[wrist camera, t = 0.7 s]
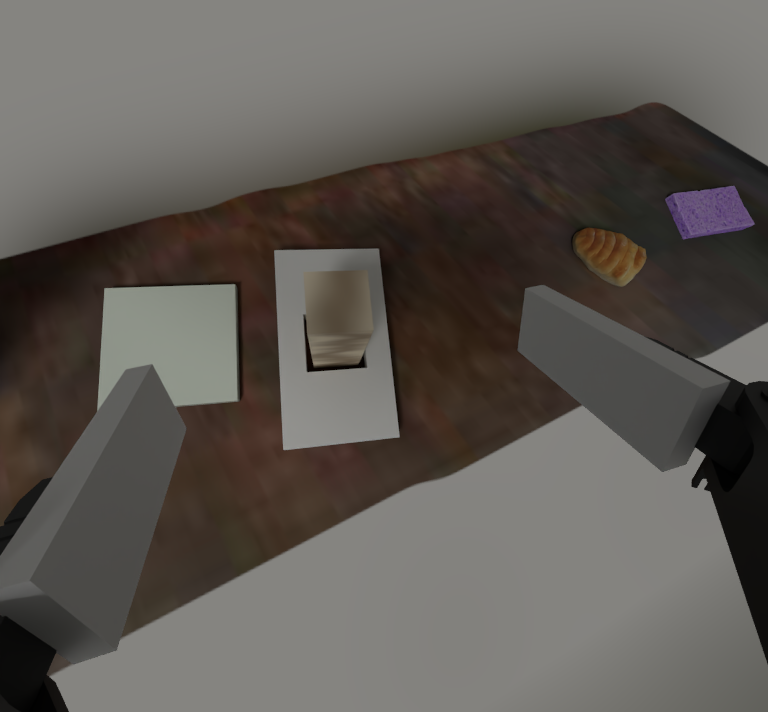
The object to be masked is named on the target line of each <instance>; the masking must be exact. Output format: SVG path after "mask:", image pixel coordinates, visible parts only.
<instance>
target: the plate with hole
mask: <svg viewBox="0 0 768 712" xmlns="http://www.w3.org/2000/svg"><path fill="white" fill-rule="evenodd" d="M274 255H275V277H276V299H277V321H278V343H279V365H280V387H281V409H282V431H283V450H289V449H298V448H307V447H316V446H325V445H334V444H343V443H352V442H361V441H370V440H379V439H387V438H396V437H400V436H399V427H398V418H397V409H396V400H395V391H394V382H393V373H392V364H391V355H390V346H389V337H388V328H387V319H386V309H385V300H384V291H383V282H382V273H381V264H380V255H379V249H323V250H274ZM353 270H368V279H369V289H370V299H371V309H372V318H373V328H374V331H373V333H372V335H371V338H370V340H369V342H368V344H367V346H366V349H365V351H364V363H365V368H357V369H344V370H330V371H317V372H307V356H306V340H305V324H304V320H306V306H305V290H304V274H303V272H315V271H353Z"/></svg>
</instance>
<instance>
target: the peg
mask: <svg viewBox="0 0 768 712" xmlns="http://www.w3.org/2000/svg"><path fill="white" fill-rule="evenodd" d="M303 274H304V290H305V306H306V322H307V335H308V340H309V345H310V350H311V355H312V360H313V365H314V368H325V367H338V366H352V365H358V364H359V362H360V360H361V358H362V355H363V353H364V351H365V349H366V346H367V344H368V342H369V340H370V338H371V335H372V333H373V331H374V328H373V318H372V309H371V299H370V289H369V279H368V270H353V271H315V272H303Z"/></svg>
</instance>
